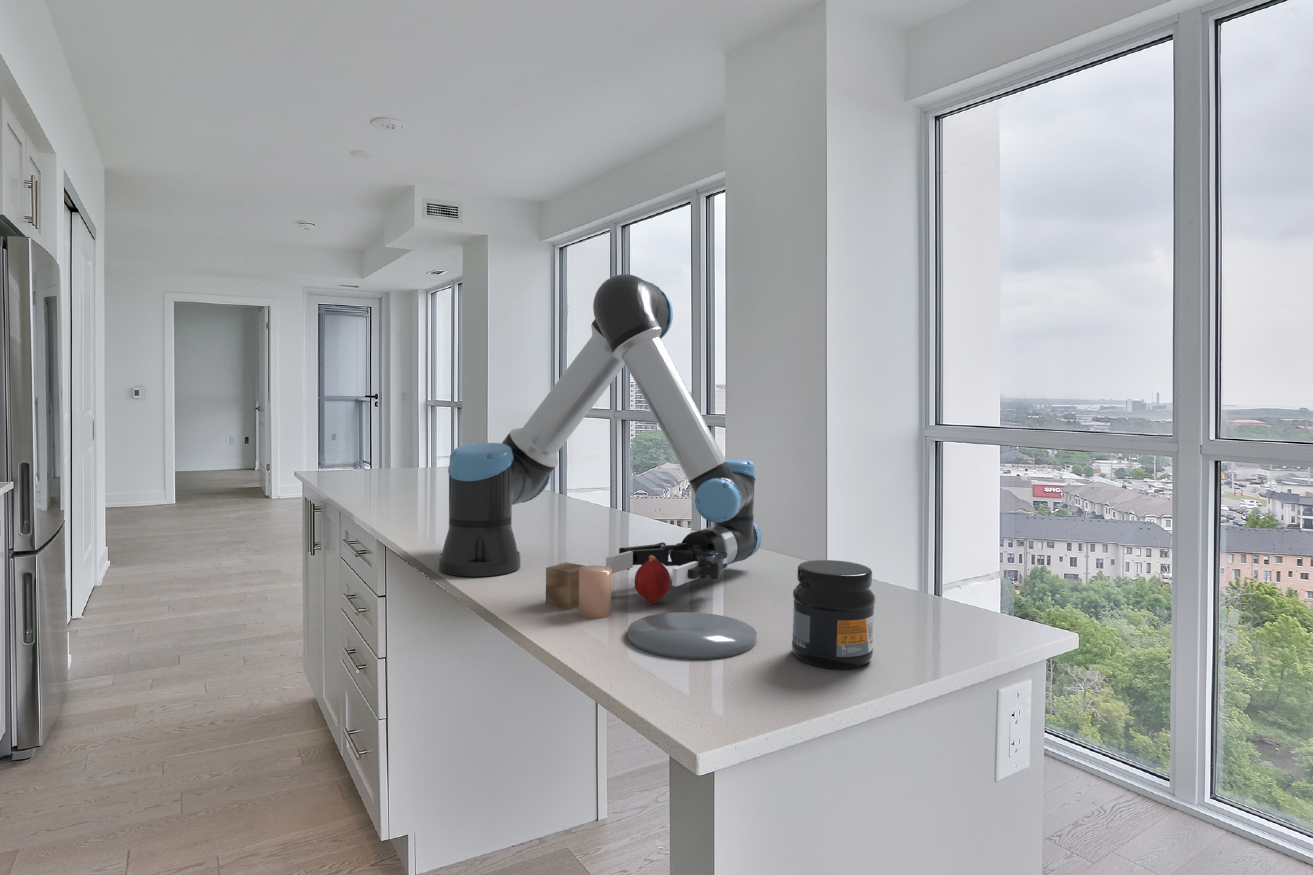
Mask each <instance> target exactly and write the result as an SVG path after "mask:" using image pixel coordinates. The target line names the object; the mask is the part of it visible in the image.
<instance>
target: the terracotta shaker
mask: <svg viewBox="0 0 1313 875" xmlns="http://www.w3.org/2000/svg"><path fill="white" fill-rule="evenodd" d="M612 576H613V574H612V569H611V568H610V567H606V565H584V567H581V568H579V602H578V607H577V608H578V609H577V610H578V612H577V614H578V616H579V617H582V618H585V619H590V620H591V619H593V620H594V619H596V620H597V619H599V620H600V619H605V618H608V617H610V616H611V615H612Z"/></svg>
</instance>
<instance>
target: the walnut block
mask: <svg viewBox="0 0 1313 875" xmlns="http://www.w3.org/2000/svg"><path fill="white" fill-rule="evenodd" d="M584 566H585V565H583V564H577V563H574V562H573V563H572V562H562V563H559V564H555V565H550V566H547V567H545V605H546V606H551V607H556V608H560V609H565V610H568V611H570V610H573V609H576V608H578V602H579V568H581V567H584Z"/></svg>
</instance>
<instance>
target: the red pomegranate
mask: <svg viewBox="0 0 1313 875" xmlns="http://www.w3.org/2000/svg"><path fill="white" fill-rule="evenodd" d="M648 558H649V560H648V561H647V562H646V563H644V564H643V565H640V566H639V568H638V569H637V570H636V572H635V575H634V581H633V582H634V588H635V590H636V592H637V593H638V595H639V596H640V597H641V598H643V600H645V601H646V602H647V603H648V605H655V604H657V603H658V602H660V601H661V600H662V599H663V598H664V597H665V596H666V595H667V594H668V592H669V590H670V587H671V584H672V583H671V582H672V581H671V580H672V579H671V575H670V572H669V570H668V569H667V568H666V567H667V566H665V565H663V564H662V563H660V562H659V561H658V560H657V559H656V558H655V557H654V556H652V555H651V556H649V557H648Z"/></svg>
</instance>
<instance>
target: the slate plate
mask: <svg viewBox="0 0 1313 875" xmlns="http://www.w3.org/2000/svg"><path fill="white" fill-rule="evenodd" d="M627 639H628V641H629V643H630V644H631V645H633V646H634V647H636V648H637V649H639V650H642V651H644V652H647V653H650V654H653V655H655V656H656V655H657V656H662V657H667V658H673V659H674V658H676V659H681V660H683V659H685V660H712V659H715V660H716V659H723V658H724V659H725V658H729V657H730V658H731V657H734V656H739V655H741V654H744V653H746V652H748V651H750V650H751V649H753V648H754V647H755V646H756V644H757V630H755V628H754V627H753V626H752V625H750V624H748V623H747V622H744V621H743V620H739V619H737V618H733V617H729V616H725V615H721V614H720V615H719V614H715V613H714V614H713V613H705V612H687V611H685V612H684V611H683V612H682V611H680V612H678V611H677V612H666V613H659V614H652V615H647V616H645V617H641V618H639V619H637V620H635V621H633V622H632V623H630V624H629V625H628V628H627Z"/></svg>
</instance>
